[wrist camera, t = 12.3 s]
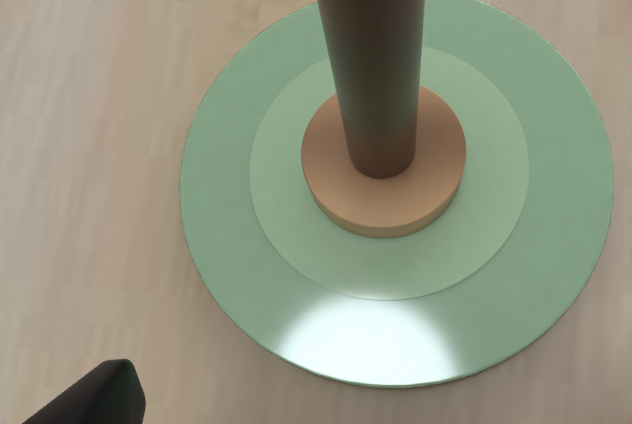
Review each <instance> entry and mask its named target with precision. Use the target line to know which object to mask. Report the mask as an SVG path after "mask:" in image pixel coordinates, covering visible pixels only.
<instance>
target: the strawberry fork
mask: <svg viewBox="0 0 632 424" xmlns="http://www.w3.org/2000/svg"><path fill="white" fill-rule="evenodd" d="M317 2H318V7H319V11H320V16H321V21H322V26H323V31H324V36H325V40H326V45H327V50H328V55H329V60H330V64H331V69H332V74H333V79H334V84H335V89H336V93H335V94H333V95H332V96H331V97H329V98H328V99H327V100H326V101H325V102H324V103H323V104H322V105H321V106H320V107H319V108H318V110H317V111H316V112H315V113H314V115H313V117H312V118H311V120H310V122H309V124H308V126H307V128H306V130H305V134H304V137H303V141H302V147H301V163H302V170H303V173H304V177H305V180H306V182H307V184H308V187H309V189H310V191H311V193H312V196H313V198H314V200H315V202H316V203H317V205H318V206H319V208H320V209H321V210H322V211H323V213H324V214H325V215H326V216H327V217H328V218H329V219H330V220H332V221H333V222H334V223H336V224H337V225H338V226H340V227H342V228H344V229H345V230H347V231H349V232H352V233H355V234H357V235H361V236H365V237H370V238H395V237H401V236H405V235H408V234H411V233H414V232H416V231H418V230H421V229H423V228H424V227H426V226H428V225H429V224H431V223H432V222H433V221H435V220H436V219H437V218H438V217H439V216H440V215H441V214H442V213H443V212H444V211H445V210H446V209H447V208H448V206H449V205H450V203H451V202H452V200H453V199H454V197H455V195H456V193H457V190H458V188H459V185H460V182H461V178H462V175H463V171H464V167H465V162H466V140H465V136H464V131H463V129H462V126H461V123H460V121H459V119H458V118H457V116H456V114H455V112H454V111H453V110H452V109H451V107H450V106H449V105H448V104H447V103H446V102H445V101H444V100H443V99H442V98H441V97H440V96H439V95H437V94H436V93H435V92H433V91H432V90H430V89H428V88H426V87H425V86H422V85H420V69H421V54H422V39H423V23H424V8H425V0H317Z"/></svg>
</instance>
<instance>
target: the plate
mask: <svg viewBox="0 0 632 424" xmlns="http://www.w3.org/2000/svg"><path fill="white" fill-rule="evenodd" d="M420 85H422V86H425V87H426V88H428V89H430V90H432V91H433V92H435V93H436V94H437V95H439V96H440V97H441V98H442V99H443V100H444V101H445V102H446V103H447V104H448V105H449V106H450V107H451V109H452V110H453V111H454V112H455V114H456V116H457V118H458V119H459V121H460V123H461V126H462V129H463V131H464V136H465V140H466V162H465V167H464V171H463V175H462V178H461V182H460V185H459V188H458V190H457V193H456V195H455V197H454V199H453V200H452V202H451V203H450V205H449V206H448V208H447V209H446V210H445V211H444V212H443V213H442V214H441V215H440V216H439V217H438V218H437V219H436V220H435V221H433V222H432V223H431V224H429V225H428V226H426V227H424V228H423V229H421V230H418V231H416V232H414V233H411V234H408V235H405V236H401V237H395V238H370V237H365V236H361V235H357V234H355V233H352V232H349V231H347V230H345V229H344V228H342V227H340V226H338V225H337V224H336V223H334V222H333V221H332V220H330V219H329V218H328V217H327V216H326V215H325V214H324V213H323V211H322V210H321V209H320V208H319V206H318V205H317V203H316V202H315V200H314V198H313V196H312V193H311V191H310V189H309V187H308V184H307V182H306V180H305V177H304V173H303V170H302V163H301V147H302V141H303V137H304V134H305V130H306V128H307V126H308V124H309V122H310V120H311V118H312V117H313V115H314V113H315V112H316V111H317V110H318V108H319V107H320V106H321V105H322V104H323V103H324V102H325V101H326V100H327V99H328V98H329V97H331V96H332V95H333V94H335V93H336V89H335V84H334V79H333V74H332V69H331V64H330V60H329V55H328V50H327V45H326V40H325V36H324V31H323V26H322V21H321V16H320V11H319V7H318V2H316V3H313V4H311V5H309V6H306V7H304V8H302V9H299V10H297V11H295V12H293V13H291V14H290V15H288V16H286V17H284V18H283V19H281V20H279V21H277V22H276V23H274V24H272V25H271V26H270V27H268V28H267V29H266V30H264V31H263V32H261V33H260V34H259V35H257V36H256V37H255V38H253V39H252V40H251V41H250V42H249V43H248V44H247V45H246V46H245V47H243V48H242V49H241V50H240V51H239V52H238V53H237V54H236V55H235V56H234V57H233V58H232V59H231V61H230V62H229V63H228V64H227V65H226V66H225V68H224V69H223V70H222V71H221V72H220V73H219V75H218V76H217V78H216V79H215V81H214V82H213V84H212V85H211V87H210V88H209V90H208V91H207V93H206V94H205V96H204V98H203V100H202V102H201V104H200V106H199V108H198V110H197V112H196V114H195V116H194V119H193V122H192V124H191V127H190V130H189V133H188V135H187V139H186V143H185V147H184V152H183V156H182V161H181V171H180V182H179V196H180V213H181V219H182V224H183V230H184V235H185V239H186V242H187V245H188V248H189V251H190V254H191V257H192V260H193V262H194V264H195V267H196V269H197V271H198V273H199V275H200V277H201V279H202V281H203V283H204V285H205V286H206V288H207V289H208V291H209V292H210V294H211V295H212V297H213V298H214V299H215V301H216V302H217V304H218V305H219V307H220V308H221V309H222V310H223V311H224V313H225V314H226V315H227V316H228V317H229V318H230V319H231V320H232V321H233V322H234V323H235V325H236V326H237V327H238V328H239V329H240V330H242V331H243V332H244V333H245V334H246V335H248V336H249V337H250V338H251V339H252V340H254V341H255V342H256V343H257V344H258V345H260V346H261V347H262V348H264V349H266V350H267V351H269V352H270V353H272V354H274V355H275V356H277V357H278V358H280V359H282V360H283V361H285V362H287V363H289V364H291V365H293V366H296V367H298V368H300V369H302V370H305V371H307V372H309V373H312V374H314V375H317V376H320V377H324V378H327V379H331V380H334V381H338V382H341V383H345V384H351V385H358V386H365V387H372V388H414V387H422V386H430V385H437V384H441V383H445V382H449V381H452V380H456V379H460V378H463V377H467V376H470V375H473V374H475V373H478V372H480V371H482V370H485V369H487V368H489V367H492V366H494V365H496V364H499V363H501V362H503V361H504V360H506V359H507V358H509V357H511V356H512V355H514V354H516V353H517V352H519V351H521V350H522V349H524V348H525V347H527V346H529V345H530V344H531V343H532V342H533V341H535V340H536V339H537V338H538V337H539V336H541V335H542V334H543V333H544V332H545V331H547V330H548V329H549V328H550V327H552V326H553V325H554V323H555V322H556V321H557V320H558V319H559V318H560V317H561V316H562V315H563V313H564V312H565V311H566V310H567V309H568V308H569V307H570V306H571V305H572V303H573V302H574V301H575V299H576V298H577V296H578V295H579V293H580V292H581V290H582V289H583V287H584V286H585V284H586V283H587V281H588V280H589V278H590V276H591V274H592V272H593V270H594V267H595V265H596V263H597V261H598V259H599V257H600V254H601V252H602V250H603V246H604V243H605V239H606V236H607V233H608V229H609V226H610V221H611V214H612V206H613V198H614V174H613V162H612V156H611V150H610V145H609V139H608V136H607V133H606V130H605V127H604V124H603V121H602V118H601V115H600V112H599V110H598V108H597V106H596V104H595V102H594V100H593V98H592V96H591V94H590V92H589V90H588V89H587V87H586V86H585V84H584V83H583V81H582V80H581V78H580V77H579V75H578V74H577V73H576V71H575V70H574V68H573V67H572V66H571V65H570V64H569V62H568V61H567V60H566V59H565V58H564V57H563V56H562V55H561V54H560V53H559V51H558V50H557V49H556V48H555V47H554V46H552V45H551V44H550V43H549V42H548V41H547V40H545V39H544V38H543V37H542V36H541V35H540V34H538V33H537V32H536V31H535V30H533V29H532V28H530V27H529V26H527V25H526V24H524V23H523V22H521V21H520V20H518V19H517V18H515V17H513V16H511V15H509V14H507V13H505V12H503V11H501V10H499V9H497V8H495V7H493V6H491V5H489V4H486V3H483V2H481V1H478V0H425V8H424V23H423V39H422V54H421V69H420Z"/></svg>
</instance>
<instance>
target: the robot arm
mask: <svg viewBox="0 0 632 424" xmlns="http://www.w3.org/2000/svg"><path fill="white" fill-rule="evenodd" d="M145 406H146V401H145V395H144V392H143V389H142V387H141V384H140V381H139V379H138V376H137V373H136V370H135V368H134V365H133V363H132V362H131V361H130V360H128V359H117V360H107V361H104V362H102V363H101V364H99V365H98V366H97V367H95V368H94V369H93V370H92V371H90V372H89V373H88V374H86V375H85V376H84V377H82V378H81V379H80V380H78V381H77V382H76V383H75V384H73V385H72V386H71V387H69V388H68V389H67V390H65V391H64V392H63V393H61V394H60V395H59V396H58V397H56V398H55V399H54V400H52V401H51V402H50V403H48V404H47V405H46V406H44V407H43V408H42V409H41V410H39V411H38V412H37V413H35V414H34V415H33V416H31V417H30V418H29V419H27V420H26V421H25V422H23V423H22V424H142V422H143V418H144V413H145Z"/></svg>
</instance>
